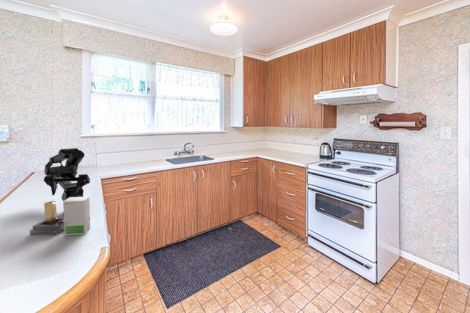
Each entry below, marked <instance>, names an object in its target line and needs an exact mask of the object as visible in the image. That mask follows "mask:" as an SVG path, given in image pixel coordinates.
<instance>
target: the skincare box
mask: <svg viewBox="0 0 470 313" xmlns="http://www.w3.org/2000/svg"><path fill="white" fill-rule="evenodd" d="M62 203H63V205H62V206H63V218H64V236H65V237H66V236H77V235H79V234H80V235H86V234H87V233H88V232H89V231H90V229H91V212H90V210H91V209H90V196H83V197H69V198H68V199H66V200H65V201H63V200H62ZM87 231H88V232H87ZM80 235H79V236H80Z"/></svg>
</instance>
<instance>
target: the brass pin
mask: <svg viewBox="0 0 470 313" xmlns="http://www.w3.org/2000/svg"><path fill="white" fill-rule="evenodd" d="M43 206H44V207H43V209H44V216H45V218H44V220H46V225H54V224H55V223H57V218H58V214H57V203H56V201H54V200H53V201H52V200H51V201H47V202H44V203H43Z"/></svg>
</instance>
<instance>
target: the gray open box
mask: <svg viewBox="0 0 470 313" xmlns="http://www.w3.org/2000/svg"><path fill="white" fill-rule="evenodd" d="M63 229H64V217H57V223H55V224H54V225H46V219H44V220H41V221H40V222H38V223H36V224H34V225H32V228H31V229H30V230H29V235H30V236H55V235H57V234H59V233H60V232H62V231H63ZM61 230H62V231H61ZM64 230H65V229H64ZM59 231H60V232H59ZM58 232H59V233H58ZM56 233H57V234H56Z"/></svg>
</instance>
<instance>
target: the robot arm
mask: <svg viewBox="0 0 470 313" xmlns="http://www.w3.org/2000/svg"><path fill="white" fill-rule="evenodd" d="M84 157H85V153H84V151H82V150H80V149H78V147H77V148H76V147H72V148H61V149H59V150H58V153H57V154H55V155H54V156H51V157H49V159H48V160H49V161H48V162H47V163H46V164H45V166H44V172H43V173H44V175H45V176H44V177H43V182H44V183H45V184H46V185H47V186H49V187H50V190H51V194H52V196H55V194H56V193H57V192H56V191H57V189H58V185H59V186H60V187H61V188H62V189H63V193H62V195H61V196H60V197H61V200H62V202H63V201H65V200H66V199H68V198H69V197H84V191H85V190H84V188H83V187H84V186H87V185H89V184H90V182H91V178H90V176H89V174H87V173H79V174H78V168H79V165H80V164H81V162H82V160H83V159H84ZM63 161H66V162H65V165H63V163H62V162H63ZM53 164H60V165H57V166H53ZM77 175H78V176H77Z"/></svg>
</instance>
